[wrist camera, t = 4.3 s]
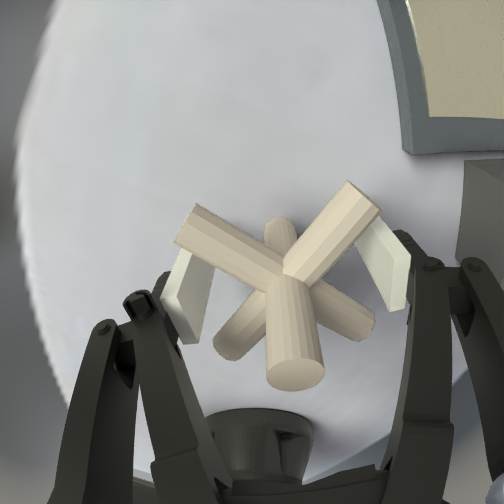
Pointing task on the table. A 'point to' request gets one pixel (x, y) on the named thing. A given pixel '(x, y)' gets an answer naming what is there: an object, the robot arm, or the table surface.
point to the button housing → (483, 215)
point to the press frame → (447, 73)
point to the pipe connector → (286, 284)
